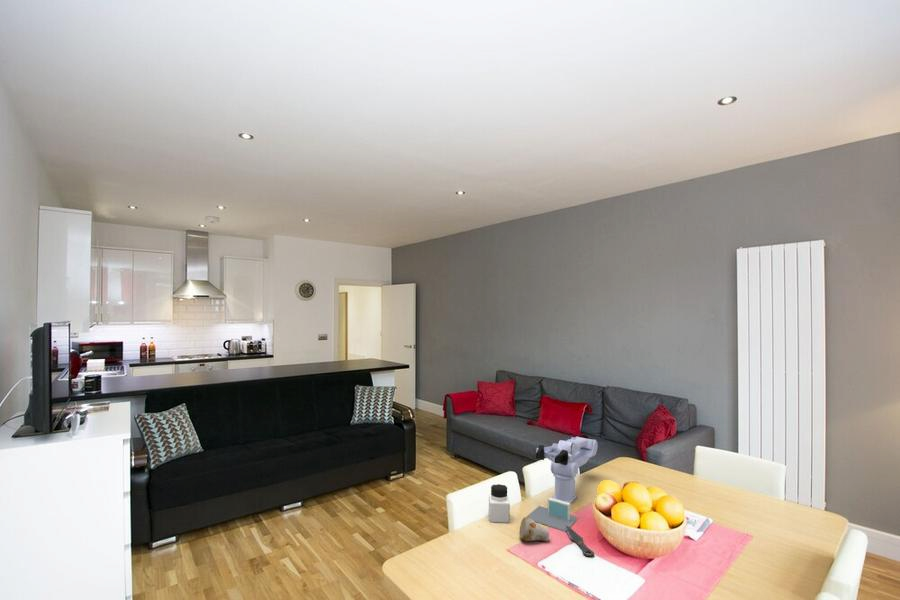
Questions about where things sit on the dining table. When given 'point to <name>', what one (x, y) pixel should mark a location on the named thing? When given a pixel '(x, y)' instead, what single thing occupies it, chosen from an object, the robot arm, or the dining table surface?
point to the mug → (532, 531)
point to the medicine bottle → (499, 504)
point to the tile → (559, 509)
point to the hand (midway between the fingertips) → (545, 458)
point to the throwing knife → (579, 541)
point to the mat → (550, 519)
